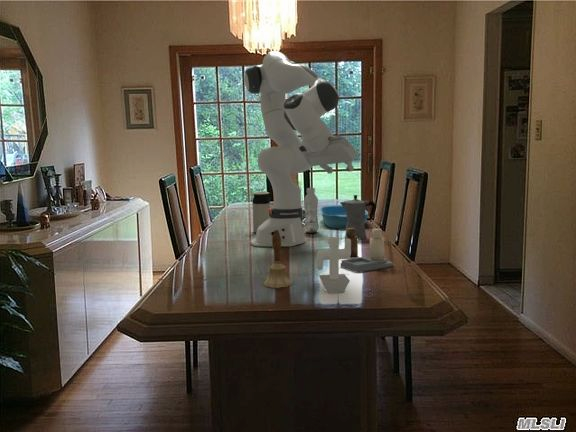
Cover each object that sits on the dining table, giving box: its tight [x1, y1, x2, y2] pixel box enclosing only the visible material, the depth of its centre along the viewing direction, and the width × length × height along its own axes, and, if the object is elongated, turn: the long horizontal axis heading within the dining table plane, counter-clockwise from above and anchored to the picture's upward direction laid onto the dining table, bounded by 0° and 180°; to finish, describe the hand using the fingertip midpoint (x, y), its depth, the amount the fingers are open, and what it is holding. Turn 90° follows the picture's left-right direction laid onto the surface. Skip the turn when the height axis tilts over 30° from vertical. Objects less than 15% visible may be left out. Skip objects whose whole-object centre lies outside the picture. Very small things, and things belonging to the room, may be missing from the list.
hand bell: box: [263, 230, 293, 289], centre depth 149 cm, size 8×8×16 cm
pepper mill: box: [344, 228, 359, 259], centre depth 183 cm, size 5×5×10 cm
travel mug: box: [251, 191, 271, 233], centre depth 237 cm, size 8×8×18 cm
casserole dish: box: [320, 204, 370, 229], centre depth 256 cm, size 37×22×7 cm, turn 0°
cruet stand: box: [340, 228, 394, 273], centre depth 167 cm, size 15×9×12 cm, turn 119°
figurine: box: [316, 236, 351, 294], centre depth 141 cm, size 7×9×15 cm
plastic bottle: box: [303, 187, 319, 234], centre depth 231 cm, size 6×7×20 cm
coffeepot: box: [339, 194, 377, 240], centre depth 217 cm, size 15×9×18 cm, turn 68°
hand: (341, 171), depth 172 cm, fingers open, 8 cm apart
